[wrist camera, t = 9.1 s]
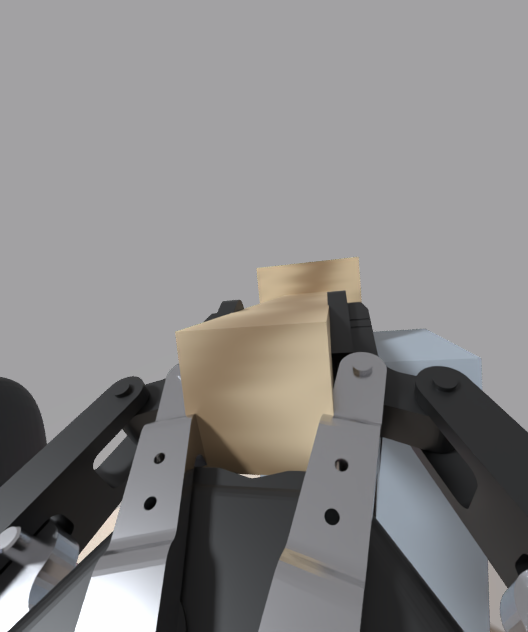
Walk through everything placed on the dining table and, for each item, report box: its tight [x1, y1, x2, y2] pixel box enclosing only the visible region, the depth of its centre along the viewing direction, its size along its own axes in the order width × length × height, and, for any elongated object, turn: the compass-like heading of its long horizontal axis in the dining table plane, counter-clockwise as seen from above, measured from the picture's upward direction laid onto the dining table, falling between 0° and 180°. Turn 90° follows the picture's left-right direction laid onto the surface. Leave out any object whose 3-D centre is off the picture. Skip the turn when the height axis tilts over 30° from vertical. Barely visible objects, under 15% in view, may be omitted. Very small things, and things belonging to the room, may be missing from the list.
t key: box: [175, 257, 361, 475], centre depth 19 cm, size 8×24×6 cm, turn 167°
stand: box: [260, 329, 490, 632], centre depth 26 cm, size 14×11×33 cm
